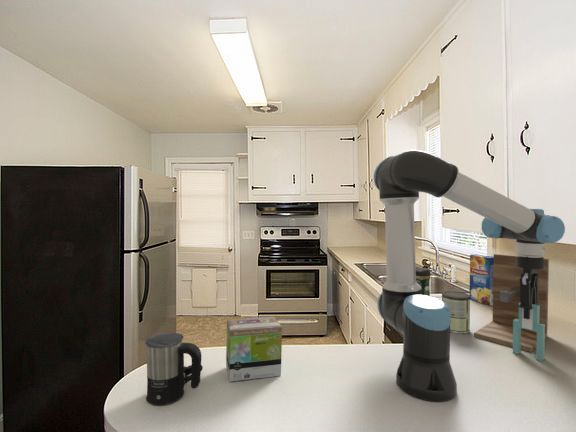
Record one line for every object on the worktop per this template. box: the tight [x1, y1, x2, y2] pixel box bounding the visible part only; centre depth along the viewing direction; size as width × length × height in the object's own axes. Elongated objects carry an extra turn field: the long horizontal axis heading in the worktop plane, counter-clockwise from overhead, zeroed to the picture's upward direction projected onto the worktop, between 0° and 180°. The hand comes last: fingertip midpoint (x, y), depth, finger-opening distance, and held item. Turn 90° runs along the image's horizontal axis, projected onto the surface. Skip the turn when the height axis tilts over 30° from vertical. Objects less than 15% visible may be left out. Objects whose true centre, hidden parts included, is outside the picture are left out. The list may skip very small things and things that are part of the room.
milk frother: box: [144, 332, 204, 407], centre depth 89 cm, size 14×16×15 cm
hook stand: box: [473, 253, 550, 353], centre depth 125 cm, size 22×18×30 cm
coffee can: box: [441, 290, 471, 335], centre depth 133 cm, size 10×10×14 cm
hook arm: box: [500, 287, 520, 303], centre depth 125 cm, size 18×2×4 cm, turn 131°
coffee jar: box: [416, 266, 432, 297], centre depth 168 cm, size 10×8×19 cm
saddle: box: [512, 303, 546, 362], centre depth 109 cm, size 3×8×17 cm, turn 41°
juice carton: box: [468, 253, 494, 306], centre depth 173 cm, size 12×8×24 cm, turn 21°
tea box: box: [225, 316, 283, 383], centre depth 97 cm, size 15×10×15 cm, turn 105°
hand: (528, 326), depth 109 cm, fingers closed on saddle, 3 cm apart
